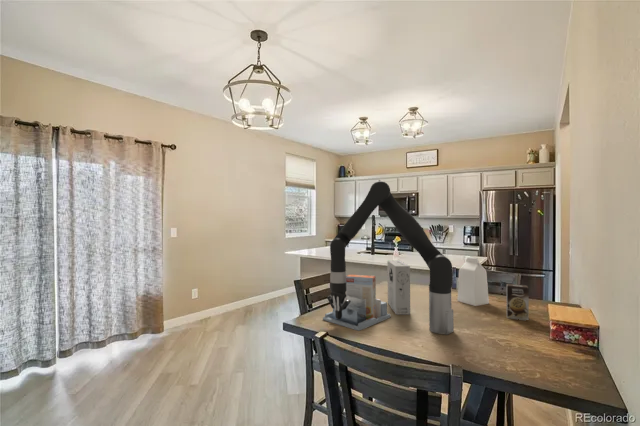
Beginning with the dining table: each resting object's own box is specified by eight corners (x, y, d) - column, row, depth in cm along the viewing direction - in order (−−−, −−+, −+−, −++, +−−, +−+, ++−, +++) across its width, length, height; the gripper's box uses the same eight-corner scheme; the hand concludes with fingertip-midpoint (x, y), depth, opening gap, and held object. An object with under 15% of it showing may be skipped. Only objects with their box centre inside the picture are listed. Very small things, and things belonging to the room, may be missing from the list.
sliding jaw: (369, 323, 149) (369, 300, 149) (360, 327, 144) (360, 303, 144) (339, 314, 162) (338, 293, 162) (329, 318, 157) (329, 295, 157)
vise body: (390, 317, 159) (390, 299, 159) (358, 330, 140) (358, 310, 140) (355, 308, 174) (355, 292, 174) (322, 319, 156) (322, 301, 156)
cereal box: (410, 314, 163) (410, 266, 163) (395, 314, 163) (395, 266, 163) (400, 303, 184) (400, 260, 185) (387, 303, 185) (387, 260, 185)
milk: (457, 300, 188) (456, 257, 189) (471, 298, 193) (470, 256, 194) (474, 306, 178) (474, 259, 178) (488, 303, 182) (488, 258, 183)
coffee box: (507, 318, 156) (506, 285, 156) (506, 314, 162) (505, 283, 162) (529, 321, 152) (528, 287, 152) (527, 317, 157) (527, 284, 157)
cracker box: (376, 317, 158) (376, 275, 159) (373, 321, 153) (372, 277, 153) (350, 314, 164) (349, 273, 165) (345, 317, 159) (345, 275, 159)
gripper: (354, 281, 145) (355, 319, 145) (333, 277, 155) (333, 313, 154) (344, 284, 140) (344, 323, 140) (322, 280, 149) (322, 317, 149)
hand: (338, 318), depth 147 cm, fingers closed
